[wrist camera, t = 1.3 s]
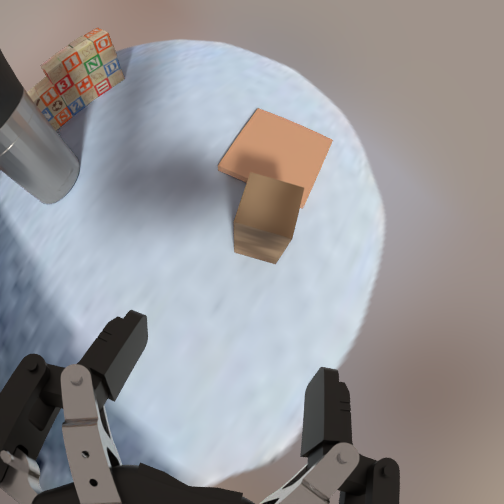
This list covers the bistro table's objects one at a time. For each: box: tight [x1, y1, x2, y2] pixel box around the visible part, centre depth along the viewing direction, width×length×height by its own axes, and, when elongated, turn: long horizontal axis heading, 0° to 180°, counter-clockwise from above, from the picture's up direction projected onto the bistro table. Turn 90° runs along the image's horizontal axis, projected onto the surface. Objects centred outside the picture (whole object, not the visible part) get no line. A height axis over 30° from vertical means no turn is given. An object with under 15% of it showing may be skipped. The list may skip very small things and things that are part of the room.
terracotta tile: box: [218, 108, 333, 208], centre depth 35 cm, size 12×12×1 cm
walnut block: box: [234, 172, 304, 264], centre depth 28 cm, size 5×5×10 cm
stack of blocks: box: [27, 28, 125, 131], centre depth 32 cm, size 21×6×12 cm, turn 134°
